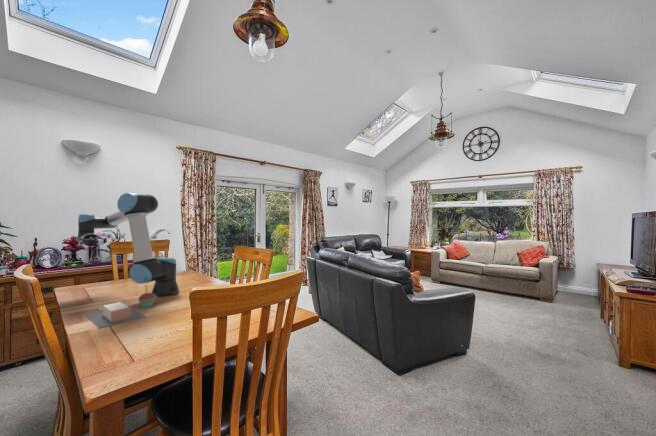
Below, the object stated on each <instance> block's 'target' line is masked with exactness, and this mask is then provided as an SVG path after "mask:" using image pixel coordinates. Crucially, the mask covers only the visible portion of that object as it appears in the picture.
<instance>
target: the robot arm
mask: <svg viewBox="0 0 656 436" xmlns="http://www.w3.org/2000/svg"><path fill="white" fill-rule="evenodd" d="M116 206H117V210H118V211H116V212H114V213H111V214H109V215H106V216H95V214H91V213H90V214H89V213H87V214H86V213H81V214H79V215H78V219H77V222H78V225H77V226H78V230H77V237H76V241H77V242H78V243H79V244H80V245H84V246H87V247H95V246H97V245H99V246H102V245H104V244H106V243H107V242H108V238H107V237H99V236H100V235H99V236H98V235H97V234H95V230H96V229H97V230H99V229H114V228H117V227H118V226H119V225H120V224H122V223H124V222H127V221H128V224H129V231H130V235H131V241H132V245H133V252H134V257H135V259H134V260H133V262H132V264H133V265H131V267H130V269H129V276H130V279H131V281H133V282H134V283H136V284H139V285H140V284H142V285H144V284H147V283H151V282H154V283H153V287H152V289H151V293H154V294H156V295H157V298H161V297H170V296H175V295H177V294H179V291H180V288H179V286H178V282H177V259H175V258H173V257H156V256H154V253H153V251H152V250H153V249H152V244H151V238H150V232H149V228H148V223H147V216H148V215H150V214H152V213H154V212H155V211H157V209H158V208H159V207H158V206H159V201H158V199H157V198H156V197H155V196H154V195H151V194H148V193H147V194H146V193H138V192H124V193H123V194H121V195H120V196H119V198H118V199H117V205H116Z"/></svg>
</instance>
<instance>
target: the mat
mask: <svg viewBox="0 0 656 436" xmlns="http://www.w3.org/2000/svg"><path fill="white" fill-rule="evenodd" d="M125 305H126V306H128V307H130V306H129V305H127V304H125ZM83 315H84V316H85V317H86V318H87V319H88V320H89V321H91V323H93V324H94V325H95V326H96V327H97V328H98V329H99V330H100V329H104V328H105V329H106V328H108V327H113V326H117V325H120V324H124V323H128V322H131V321H132V322H133V321H136V320H140V319H144V318H145V319H146V317H147V316H146V315H144V314H142V313H141V312H139V311H137V310H136V309H134V308H133V307H130V318H128V319H124V320H120V321H116V322H111V321H110V320H108V319H107V318H106V317H104V316H103V309H101V310H95V311H90V312H85V313H83Z"/></svg>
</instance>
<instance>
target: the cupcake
mask: <svg viewBox="0 0 656 436" xmlns="http://www.w3.org/2000/svg"><path fill="white" fill-rule="evenodd" d="M157 298H158V297H157V295H156V294H154V293H152V292H148V285H147V284H145V293H142V294H141V295H140V296H139V297H138V302H139V303H140V304H141V307H142V308H148V307H152V306H153V304H154V302H155V300H157Z"/></svg>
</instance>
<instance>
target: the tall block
mask: <svg viewBox="0 0 656 436" xmlns="http://www.w3.org/2000/svg"><path fill="white" fill-rule="evenodd" d="M126 305H127V304H125V303H123V302H122V301H118V302H114V303H109V304H104V305H103V306H102V310H103V316H104V317H106V318H107V319H108V320H110V321H111V322H116V321H120V320H124V319H128V318H130V306H129V305H128V306H129V307H128V306H126Z"/></svg>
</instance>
